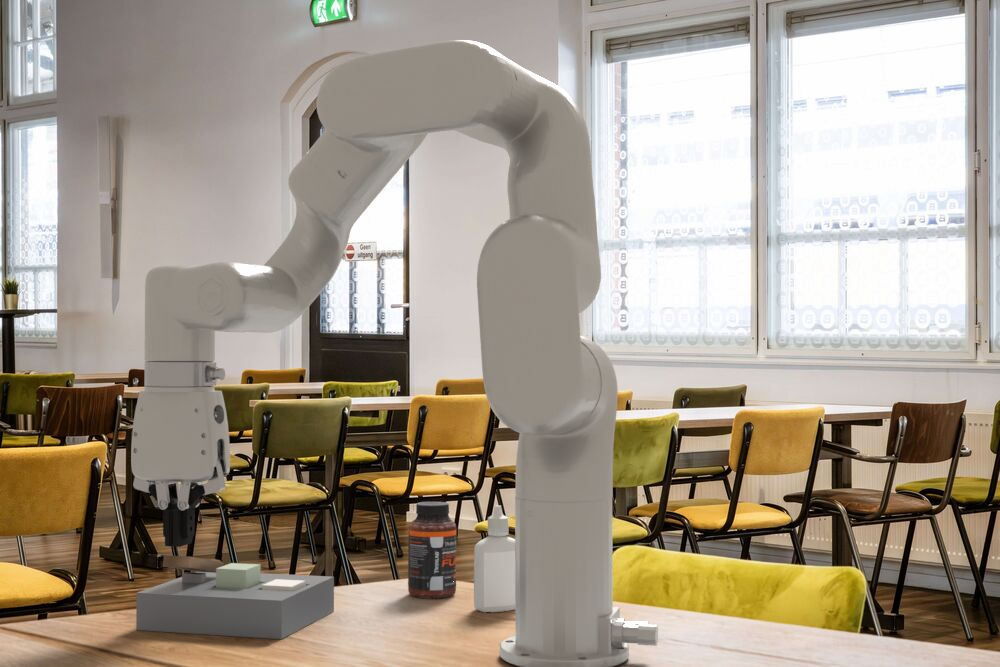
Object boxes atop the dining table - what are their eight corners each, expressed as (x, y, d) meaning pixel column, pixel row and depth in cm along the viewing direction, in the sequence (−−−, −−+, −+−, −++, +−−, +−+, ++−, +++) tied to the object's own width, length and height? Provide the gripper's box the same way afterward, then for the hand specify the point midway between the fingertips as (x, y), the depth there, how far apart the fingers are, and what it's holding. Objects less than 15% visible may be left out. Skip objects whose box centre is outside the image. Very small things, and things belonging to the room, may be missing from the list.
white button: (305, 609, 135) (305, 580, 136) (292, 616, 132) (292, 586, 132) (276, 607, 136) (276, 579, 136) (261, 614, 133) (261, 585, 133)
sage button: (260, 592, 137) (260, 564, 137) (245, 599, 133) (245, 570, 133) (231, 591, 138) (231, 563, 138) (216, 597, 134) (216, 568, 134)
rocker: (222, 572, 140) (224, 560, 141) (188, 567, 133) (190, 554, 133) (197, 571, 141) (199, 559, 141) (162, 566, 134) (164, 553, 134)
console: (333, 611, 140) (333, 567, 140) (281, 639, 127) (281, 591, 127) (200, 604, 145) (200, 561, 145) (136, 630, 131) (136, 583, 131)
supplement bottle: (449, 600, 146) (449, 506, 146) (402, 599, 147) (402, 505, 148) (461, 591, 152) (461, 500, 152) (415, 589, 153) (415, 499, 153)
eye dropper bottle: (522, 613, 139) (522, 508, 139) (473, 613, 139) (473, 508, 139) (522, 605, 144) (521, 503, 144) (474, 605, 144) (474, 503, 144)
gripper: (257, 378, 136) (256, 542, 136) (138, 377, 140) (136, 537, 140) (225, 379, 129) (224, 553, 129) (100, 378, 133) (99, 547, 132)
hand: (178, 544), depth 134 cm, fingers closed
